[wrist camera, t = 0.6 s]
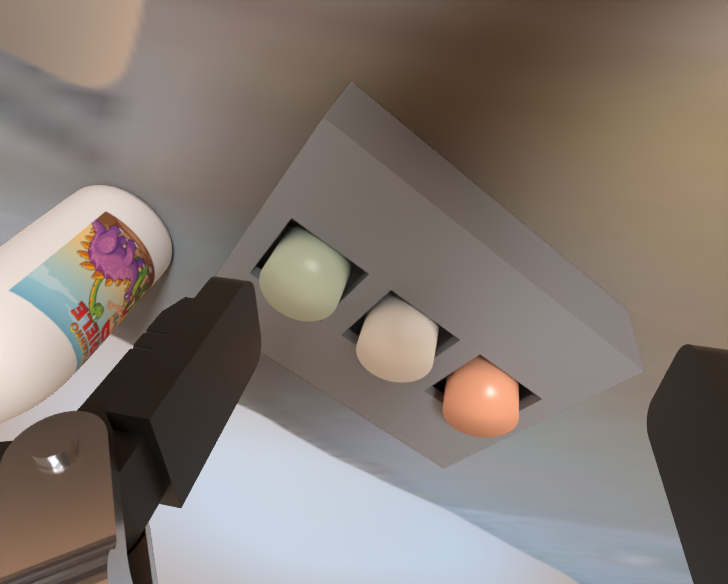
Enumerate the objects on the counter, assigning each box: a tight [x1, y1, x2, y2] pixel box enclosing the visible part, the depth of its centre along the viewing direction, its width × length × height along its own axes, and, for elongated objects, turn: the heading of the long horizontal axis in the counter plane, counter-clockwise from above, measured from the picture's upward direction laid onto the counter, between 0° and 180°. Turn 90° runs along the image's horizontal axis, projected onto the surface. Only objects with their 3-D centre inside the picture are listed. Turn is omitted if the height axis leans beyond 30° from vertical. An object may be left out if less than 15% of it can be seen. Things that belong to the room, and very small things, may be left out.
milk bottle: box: [0, 185, 172, 424], centre depth 28 cm, size 8×8×20 cm
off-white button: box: [356, 290, 439, 383], centre depth 30 cm, size 4×4×4 cm
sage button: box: [259, 221, 354, 322], centre depth 28 cm, size 4×4×4 cm
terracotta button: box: [443, 355, 519, 438], centre depth 31 cm, size 4×4×4 cm
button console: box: [215, 82, 644, 468], centre depth 31 cm, size 16×21×5 cm
